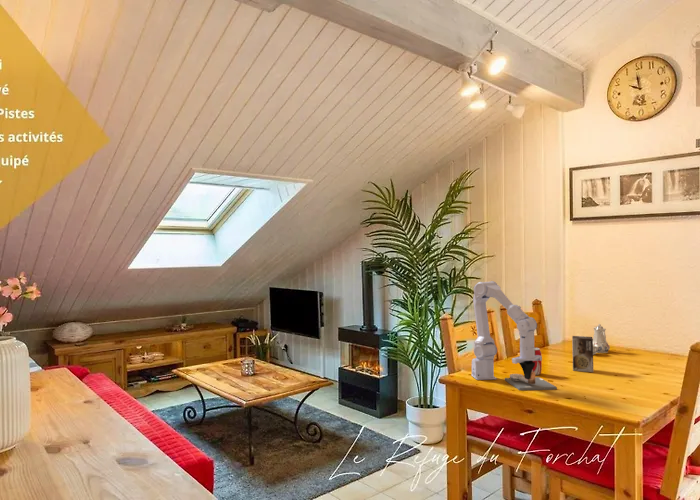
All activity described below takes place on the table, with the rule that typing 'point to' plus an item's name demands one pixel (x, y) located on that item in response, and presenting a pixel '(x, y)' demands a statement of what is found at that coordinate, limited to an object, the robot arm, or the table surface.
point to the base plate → (539, 384)
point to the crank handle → (521, 377)
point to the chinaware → (600, 340)
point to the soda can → (537, 362)
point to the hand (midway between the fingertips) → (527, 378)
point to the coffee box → (582, 353)
